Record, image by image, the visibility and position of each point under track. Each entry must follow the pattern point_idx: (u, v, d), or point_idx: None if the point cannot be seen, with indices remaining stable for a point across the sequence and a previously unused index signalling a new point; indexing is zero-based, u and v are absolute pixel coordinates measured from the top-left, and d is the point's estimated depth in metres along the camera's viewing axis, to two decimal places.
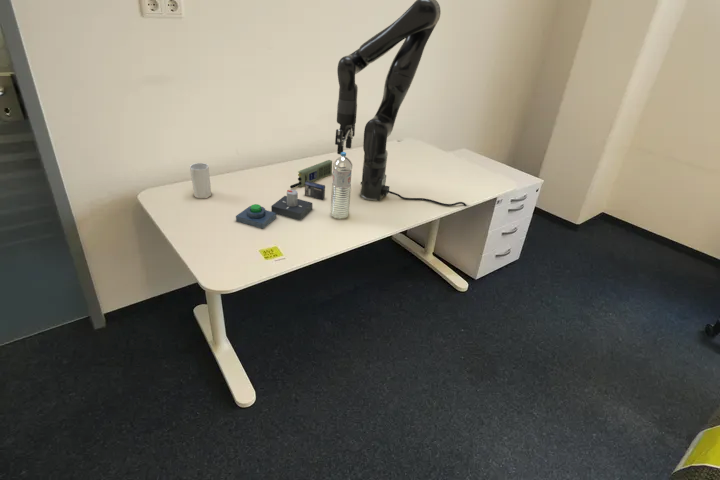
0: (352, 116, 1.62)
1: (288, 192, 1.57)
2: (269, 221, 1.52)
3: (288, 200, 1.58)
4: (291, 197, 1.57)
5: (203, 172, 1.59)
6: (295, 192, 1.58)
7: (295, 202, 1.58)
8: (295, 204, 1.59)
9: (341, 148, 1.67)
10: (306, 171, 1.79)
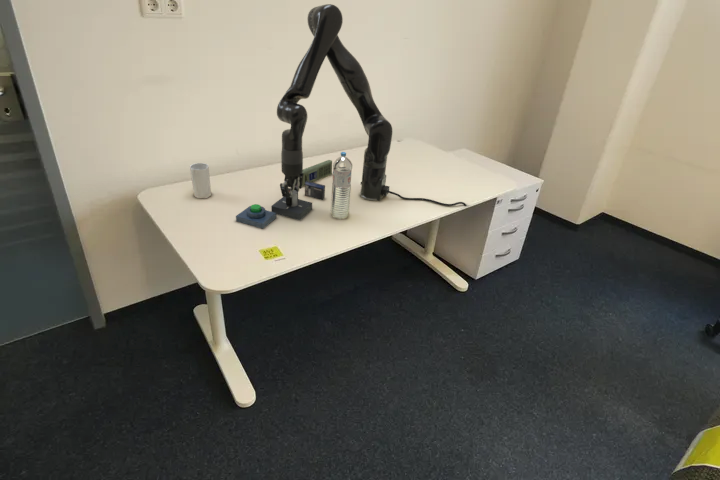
0: (297, 166, 1.49)
1: None
2: (269, 221, 1.52)
3: None
4: None
5: (203, 172, 1.59)
6: (295, 192, 1.58)
7: (295, 202, 1.58)
8: (295, 204, 1.59)
9: (289, 200, 1.56)
10: (306, 171, 1.79)
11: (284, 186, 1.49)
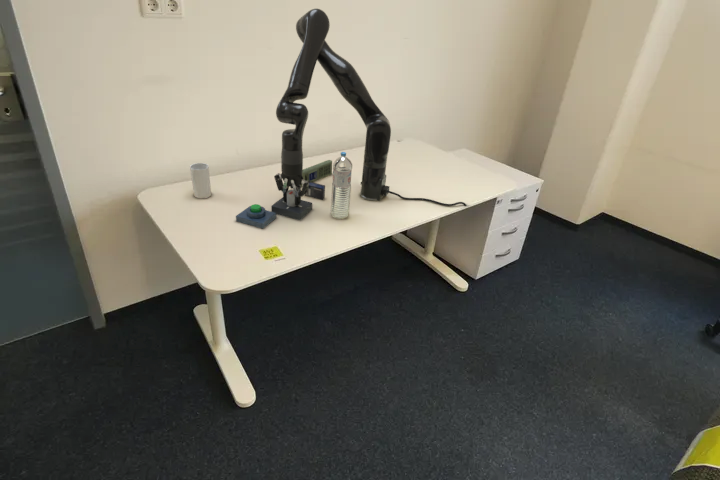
0: None
1: (293, 193, 1.57)
2: (269, 221, 1.52)
3: None
4: None
5: (203, 172, 1.59)
6: (292, 190, 1.59)
7: None
8: None
9: None
10: (306, 171, 1.79)
11: (308, 183, 1.53)
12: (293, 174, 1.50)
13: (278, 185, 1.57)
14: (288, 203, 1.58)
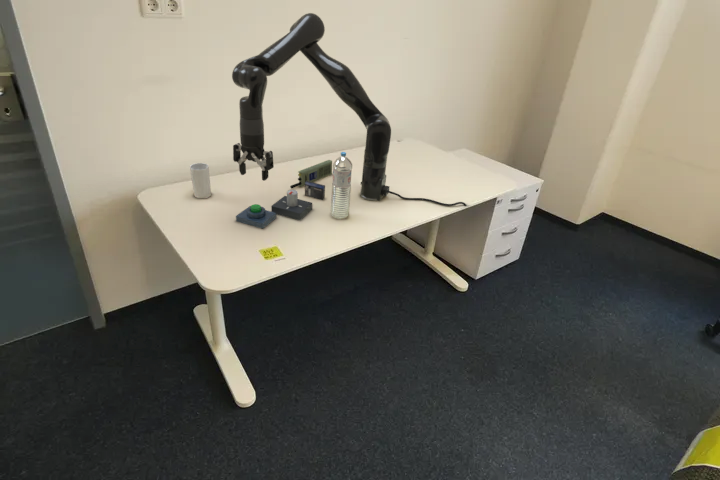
0: None
1: (293, 193, 1.57)
2: (269, 221, 1.52)
3: (296, 200, 1.58)
4: (297, 195, 1.58)
5: (203, 172, 1.59)
6: (292, 190, 1.59)
7: None
8: None
9: None
10: (306, 171, 1.79)
11: (271, 152, 1.39)
12: (253, 146, 1.37)
13: (235, 156, 1.43)
14: (288, 203, 1.58)
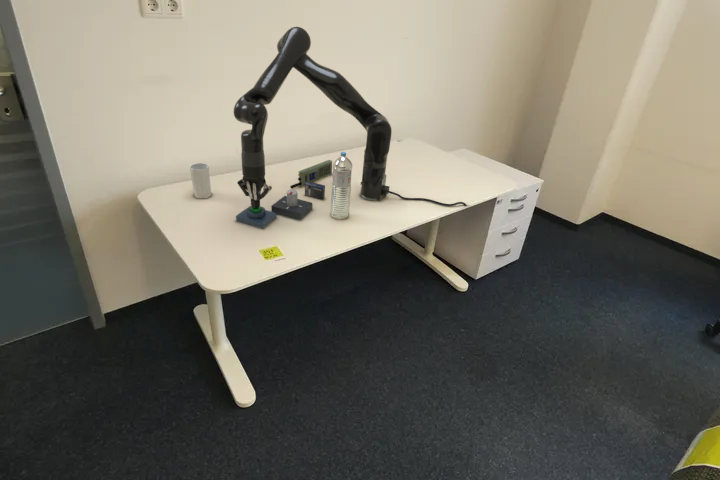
0: None
1: (293, 193, 1.57)
2: (269, 221, 1.52)
3: (296, 200, 1.58)
4: (297, 195, 1.58)
5: (203, 172, 1.59)
6: (292, 190, 1.59)
7: None
8: None
9: None
10: (306, 171, 1.79)
11: (270, 189, 1.46)
12: (254, 177, 1.42)
13: (244, 191, 1.48)
14: (288, 203, 1.58)
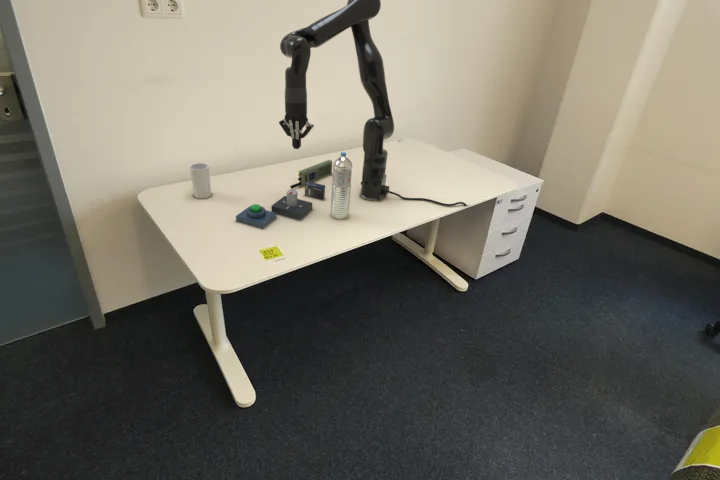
0: None
1: (293, 193, 1.57)
2: (269, 221, 1.52)
3: (296, 200, 1.58)
4: (297, 195, 1.58)
5: (203, 172, 1.59)
6: (292, 190, 1.59)
7: None
8: None
9: None
10: (306, 171, 1.79)
11: (312, 127, 1.50)
12: (298, 114, 1.45)
13: (286, 130, 1.52)
14: (288, 203, 1.58)
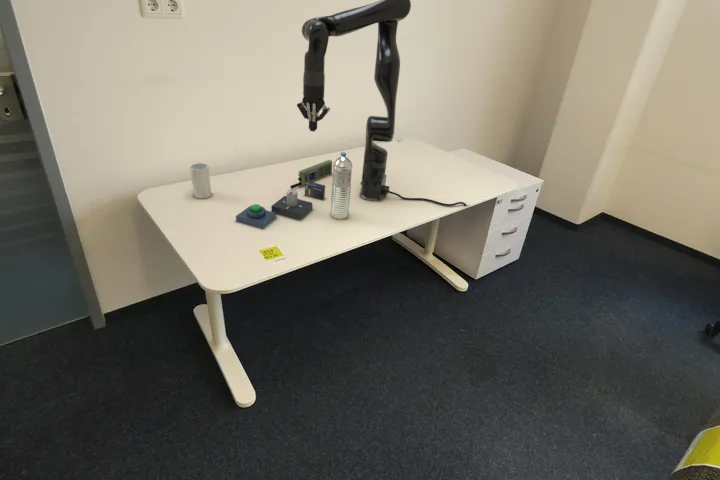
0: None
1: (293, 193, 1.57)
2: (269, 221, 1.52)
3: (296, 200, 1.58)
4: (297, 195, 1.58)
5: (203, 172, 1.59)
6: (292, 190, 1.59)
7: None
8: None
9: None
10: (306, 171, 1.79)
11: (329, 110, 1.55)
12: (315, 96, 1.50)
13: (303, 113, 1.57)
14: (288, 203, 1.58)
